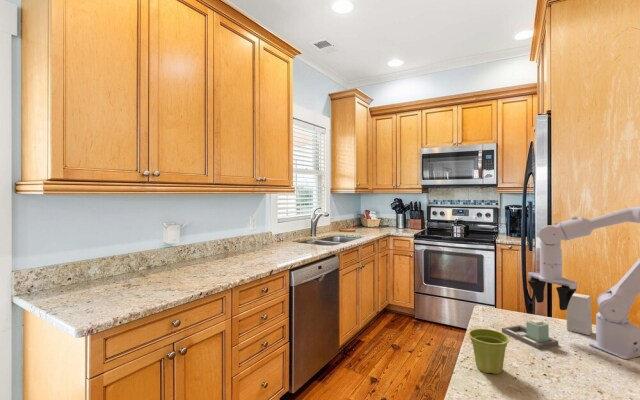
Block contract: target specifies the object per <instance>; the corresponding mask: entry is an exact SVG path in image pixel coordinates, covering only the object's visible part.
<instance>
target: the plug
mask: <svg viewBox="0 0 640 400" xmlns="http://www.w3.org/2000/svg"><path fill="white" fill-rule="evenodd" d="M525 323H526V326H525V327H526V328H527V333H526V334H527V338H529V339H531V340H533V341H535V342H537V343H544V342H549V337H550V336H549V335H550V333H549V330H550V329H549V326H550V325H549V324H548V323H546V322H544V320H541V319H534V320H527V321H525Z"/></svg>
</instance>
